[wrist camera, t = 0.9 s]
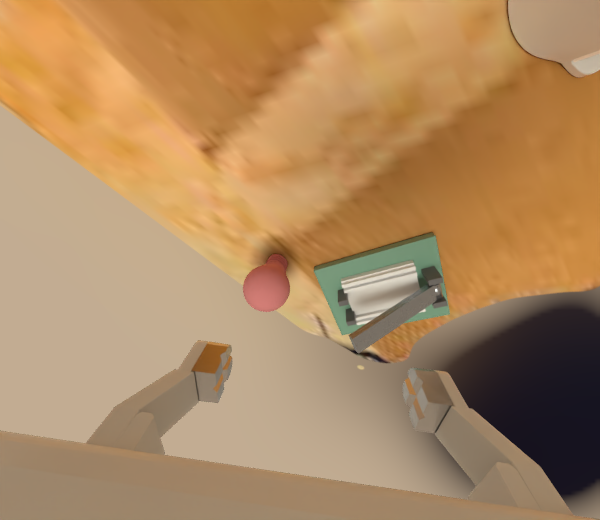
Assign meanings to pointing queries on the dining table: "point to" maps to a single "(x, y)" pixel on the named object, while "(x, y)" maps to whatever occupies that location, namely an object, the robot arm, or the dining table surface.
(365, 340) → the steel strap
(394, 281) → the heat sink board
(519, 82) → the dining table surface
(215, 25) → the dining table surface
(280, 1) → the dining table surface
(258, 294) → the light bulb
